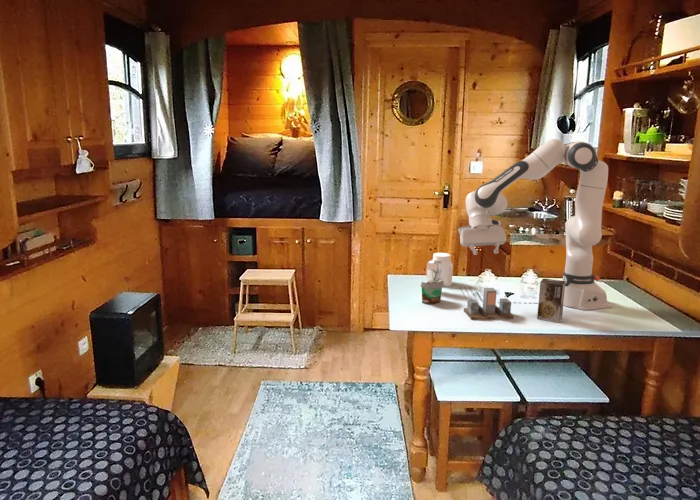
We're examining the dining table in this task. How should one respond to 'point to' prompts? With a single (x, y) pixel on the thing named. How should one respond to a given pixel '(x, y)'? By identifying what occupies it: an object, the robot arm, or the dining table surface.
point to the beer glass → (434, 270)
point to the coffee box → (551, 300)
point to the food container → (432, 291)
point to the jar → (445, 267)
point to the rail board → (480, 314)
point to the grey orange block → (489, 300)
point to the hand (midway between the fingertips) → (486, 253)
